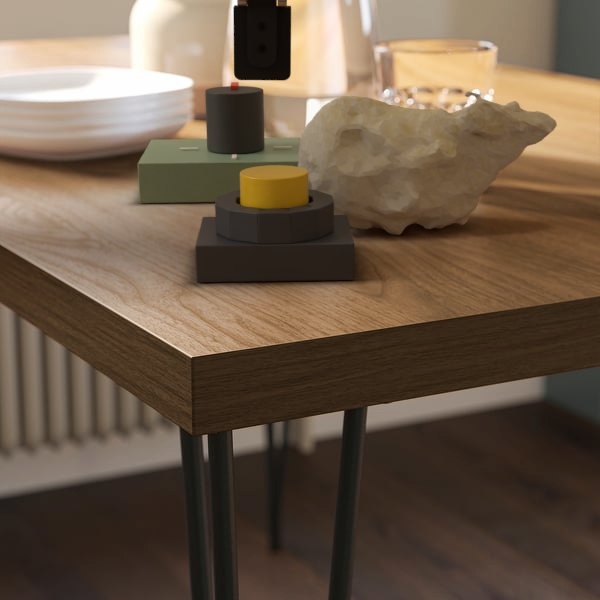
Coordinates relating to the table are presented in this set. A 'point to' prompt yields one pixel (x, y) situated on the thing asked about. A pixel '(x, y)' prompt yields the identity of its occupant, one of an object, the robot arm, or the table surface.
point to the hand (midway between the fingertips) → (262, 77)
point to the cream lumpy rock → (413, 158)
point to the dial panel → (202, 168)
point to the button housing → (275, 242)
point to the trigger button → (274, 186)
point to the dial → (235, 119)
